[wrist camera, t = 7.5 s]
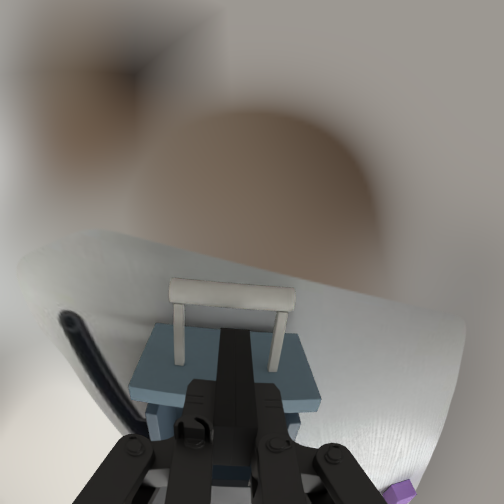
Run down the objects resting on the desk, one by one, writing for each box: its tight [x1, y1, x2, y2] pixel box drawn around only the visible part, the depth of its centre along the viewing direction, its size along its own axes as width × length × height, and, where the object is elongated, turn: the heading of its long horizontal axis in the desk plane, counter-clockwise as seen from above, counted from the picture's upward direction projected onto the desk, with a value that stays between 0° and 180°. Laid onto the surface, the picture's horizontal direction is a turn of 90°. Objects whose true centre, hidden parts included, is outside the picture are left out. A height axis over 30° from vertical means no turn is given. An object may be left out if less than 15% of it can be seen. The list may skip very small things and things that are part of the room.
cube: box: [382, 479, 417, 504], centre depth 35 cm, size 4×4×4 cm
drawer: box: [128, 278, 321, 480], centre depth 20 cm, size 19×11×8 cm, turn 174°
